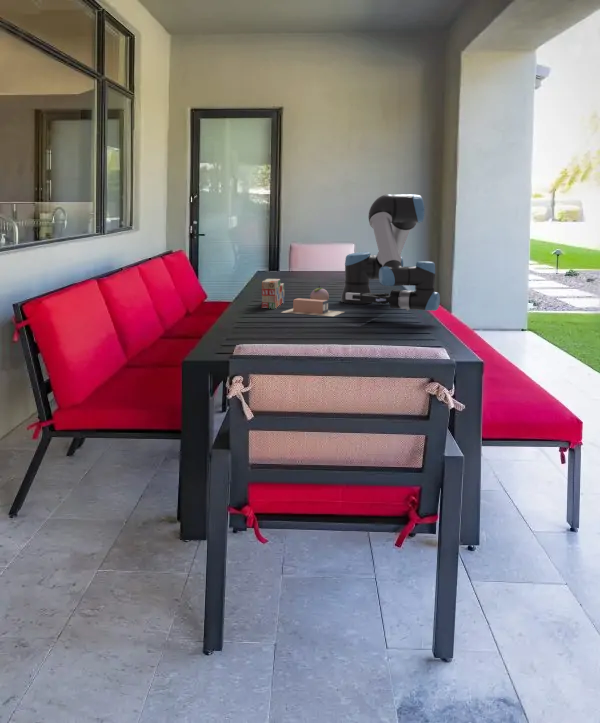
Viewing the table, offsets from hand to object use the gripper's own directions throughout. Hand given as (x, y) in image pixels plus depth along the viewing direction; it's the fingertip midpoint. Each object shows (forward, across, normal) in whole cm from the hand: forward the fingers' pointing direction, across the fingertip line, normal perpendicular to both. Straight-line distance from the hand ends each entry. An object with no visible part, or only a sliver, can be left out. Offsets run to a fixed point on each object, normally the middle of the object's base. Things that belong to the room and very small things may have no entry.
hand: (346, 295), depth 319 cm
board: (+15, -1, -9) cm, 17 cm away
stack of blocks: (+41, +15, -9) cm, 45 cm away
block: (+9, 0, -5) cm, 10 cm away
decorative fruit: (+19, +18, -9) cm, 28 cm away
